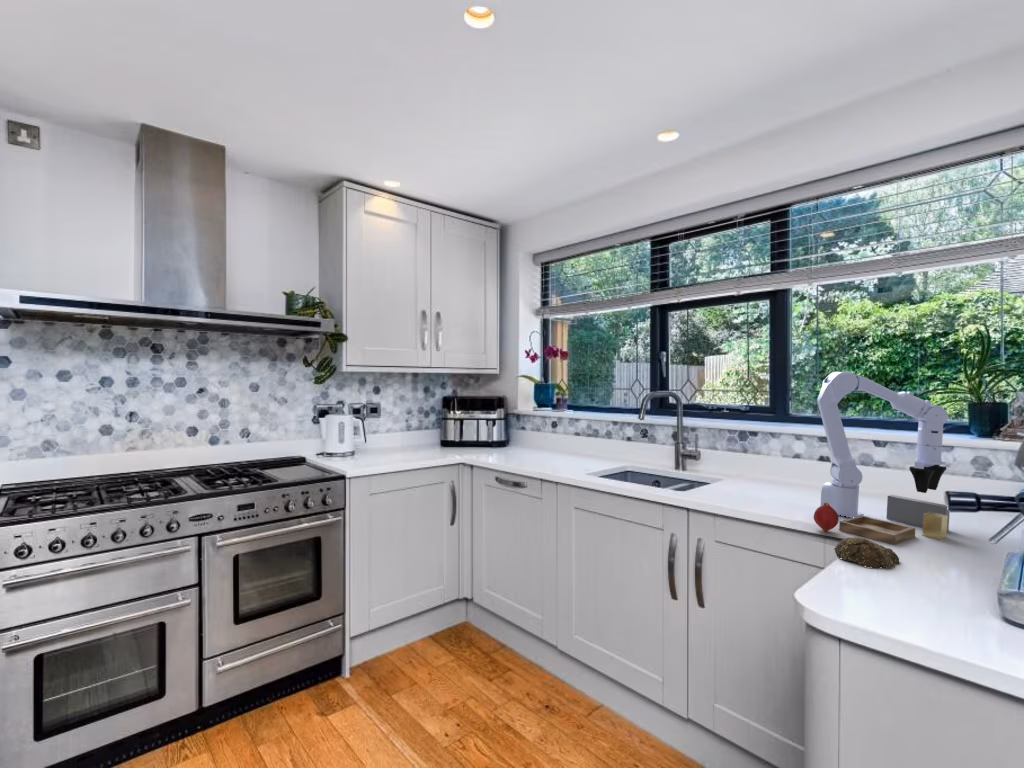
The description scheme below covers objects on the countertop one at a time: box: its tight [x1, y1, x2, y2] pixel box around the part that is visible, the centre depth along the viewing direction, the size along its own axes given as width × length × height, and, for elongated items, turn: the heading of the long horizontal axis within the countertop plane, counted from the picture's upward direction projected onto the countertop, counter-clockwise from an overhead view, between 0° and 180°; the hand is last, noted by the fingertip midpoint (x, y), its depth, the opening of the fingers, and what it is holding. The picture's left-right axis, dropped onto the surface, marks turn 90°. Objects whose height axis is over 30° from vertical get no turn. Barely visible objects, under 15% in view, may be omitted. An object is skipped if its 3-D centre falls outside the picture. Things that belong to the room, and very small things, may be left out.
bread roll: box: [834, 536, 901, 569], centre depth 119 cm, size 13×12×5 cm
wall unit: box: [886, 494, 951, 532], centre depth 149 cm, size 14×3×7 cm, turn 33°
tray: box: [838, 515, 916, 545], centre depth 139 cm, size 13×13×2 cm
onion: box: [813, 502, 840, 532], centre depth 140 cm, size 6×6×8 cm
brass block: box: [922, 512, 948, 541], centre depth 138 cm, size 4×4×6 cm
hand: (926, 490), depth 151 cm, fingers open, 7 cm apart
